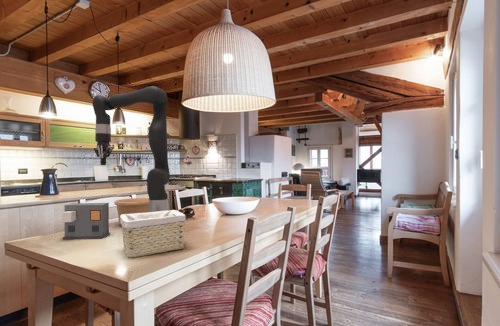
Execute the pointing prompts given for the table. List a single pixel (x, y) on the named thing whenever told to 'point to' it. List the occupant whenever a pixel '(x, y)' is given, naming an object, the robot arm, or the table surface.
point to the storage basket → (152, 232)
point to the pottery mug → (187, 212)
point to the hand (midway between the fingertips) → (103, 165)
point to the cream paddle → (69, 216)
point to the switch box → (87, 221)
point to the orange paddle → (96, 215)
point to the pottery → (132, 206)
